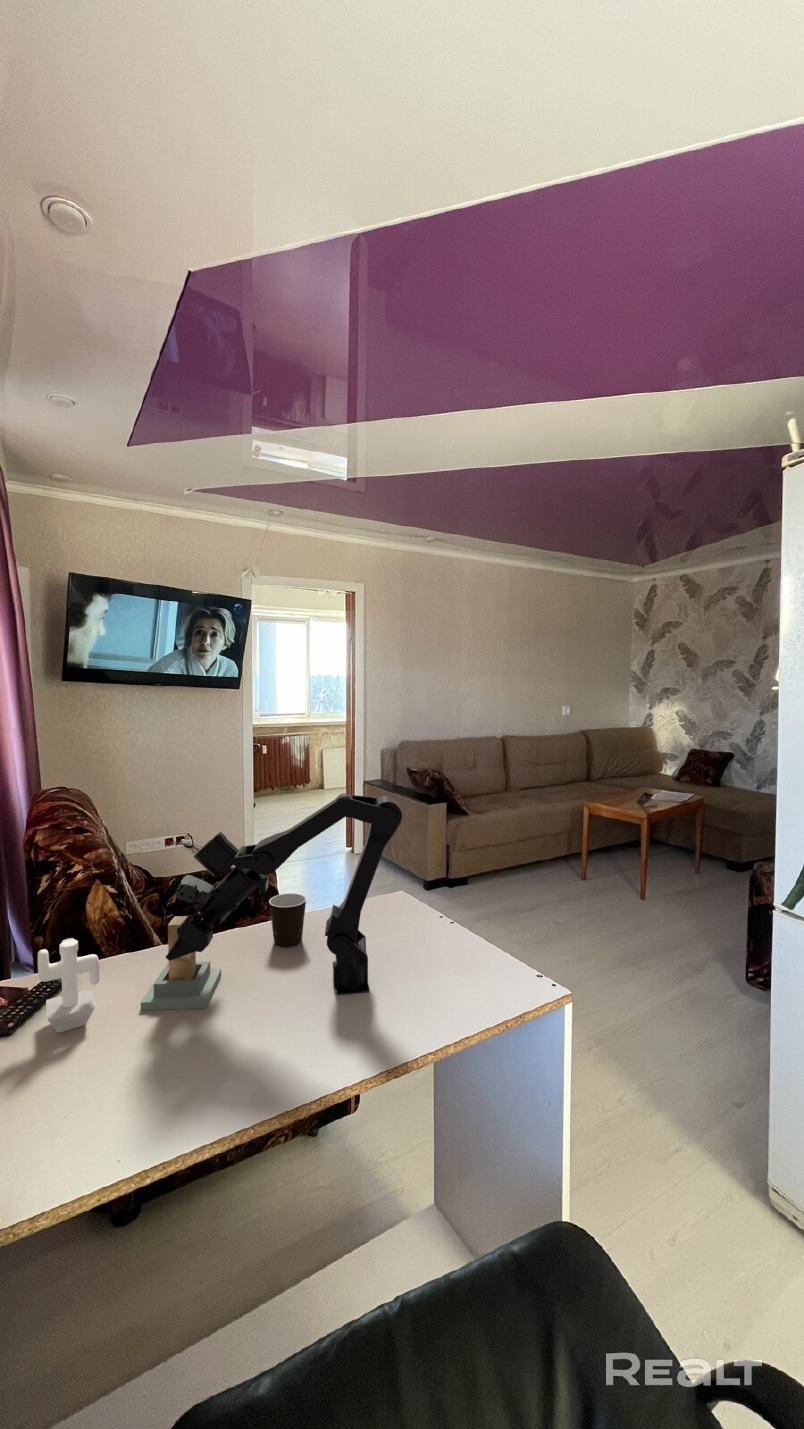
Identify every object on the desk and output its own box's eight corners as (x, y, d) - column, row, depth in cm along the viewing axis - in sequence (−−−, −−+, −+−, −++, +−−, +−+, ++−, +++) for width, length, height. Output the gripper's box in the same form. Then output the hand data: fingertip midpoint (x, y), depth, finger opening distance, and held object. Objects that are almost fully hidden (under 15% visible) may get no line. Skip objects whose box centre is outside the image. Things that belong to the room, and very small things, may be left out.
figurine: (102, 1024, 103) (100, 942, 102) (40, 1042, 97) (37, 956, 97) (98, 1005, 109) (96, 928, 108) (39, 1021, 103) (36, 940, 103)
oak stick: (196, 978, 116) (195, 915, 115) (190, 989, 112) (189, 924, 111) (175, 979, 115) (174, 916, 115) (169, 990, 111) (167, 924, 111)
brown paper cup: (298, 951, 131) (298, 908, 130) (263, 947, 132) (262, 905, 132) (316, 929, 142) (315, 890, 142) (283, 926, 144) (283, 887, 143)
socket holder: (221, 975, 120) (221, 956, 120) (206, 1007, 108) (206, 987, 108) (162, 977, 119) (162, 958, 119) (140, 1010, 107) (140, 989, 107)
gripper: (213, 849, 122) (161, 901, 121) (187, 879, 103) (125, 941, 103) (251, 885, 123) (199, 936, 122) (232, 921, 104) (171, 982, 104)
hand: (175, 947), depth 113 cm, fingers open, 9 cm apart
